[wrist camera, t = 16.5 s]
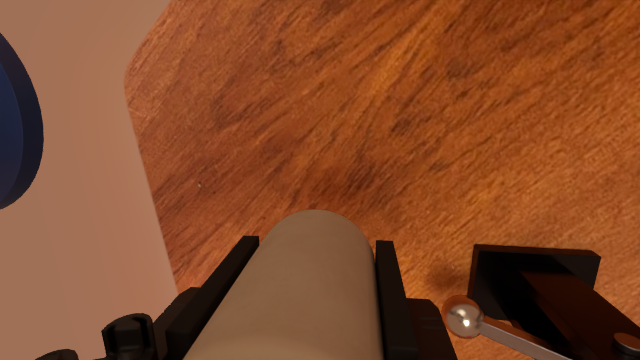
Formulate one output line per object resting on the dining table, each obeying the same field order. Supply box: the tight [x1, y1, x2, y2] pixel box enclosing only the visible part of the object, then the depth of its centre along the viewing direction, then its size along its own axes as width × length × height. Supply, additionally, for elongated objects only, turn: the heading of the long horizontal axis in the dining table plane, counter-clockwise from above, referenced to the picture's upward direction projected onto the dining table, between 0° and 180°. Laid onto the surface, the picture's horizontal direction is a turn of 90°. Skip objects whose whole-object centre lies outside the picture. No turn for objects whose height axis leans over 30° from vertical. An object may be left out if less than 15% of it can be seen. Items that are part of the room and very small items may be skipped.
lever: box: [441, 294, 585, 360], centre depth 22 cm, size 12×3×3 cm
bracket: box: [467, 244, 640, 360], centre depth 24 cm, size 10×7×13 cm
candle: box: [183, 209, 385, 360], centre depth 11 cm, size 6×6×10 cm
